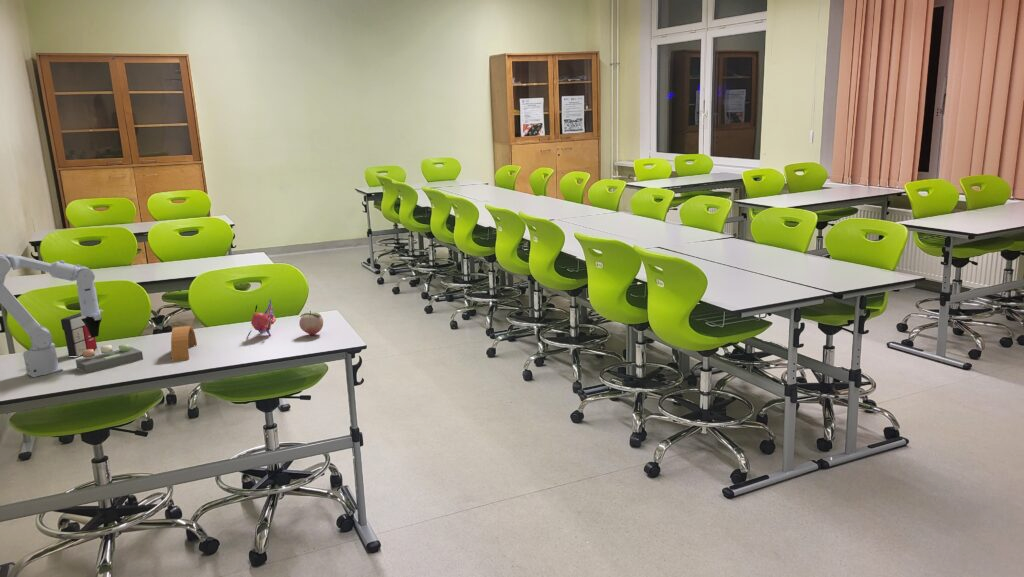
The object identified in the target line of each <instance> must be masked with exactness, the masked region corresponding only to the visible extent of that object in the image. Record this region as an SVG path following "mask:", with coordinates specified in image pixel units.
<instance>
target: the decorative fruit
mask: <svg viewBox="0 0 1024 577" xmlns="http://www.w3.org/2000/svg"><path fill="white" fill-rule="evenodd" d="M299 317H300V319H299V327H300V329H301V330H302V331H303V332H305V333H306V334H308V335H311V336H315V335H316V334H317V333H320V332H321V330H322V329H323V326H324V319H323V316H322V314H320V312H319V313H318V312H312V311H311V310H309V312H304V313H302V314H301V315H300V316H299Z"/></svg>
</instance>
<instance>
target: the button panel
mask: <svg viewBox="0 0 1024 577" xmlns="http://www.w3.org/2000/svg"><path fill="white" fill-rule="evenodd" d="M142 360H144V355H143V351H142V350H139V349H137V348H134V347H132V346H130V350H129V351H126V352H120V351H119V349H116V350H113V351H112V352H109V353H101V354H96V355H94V356H92V357H87V358H84V357H82V358H79V359H75V364H76V368H77V369H78V368H79V369H78V370H80V371H81V370H82V371H81V372H84V373H85V374H90V373H94V372H98V371H101V370H105V369H109V368H113V367H117V366H121V365H126V364H129V363H133V362H137V361H142Z"/></svg>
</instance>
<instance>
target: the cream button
mask: <svg viewBox="0 0 1024 577" xmlns="http://www.w3.org/2000/svg"><path fill="white" fill-rule="evenodd" d="M112 351H114V350H113V346H112V345H111V344H105V345H102V346H100V352H101V354H103V353H109V352H112Z"/></svg>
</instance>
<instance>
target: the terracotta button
mask: <svg viewBox="0 0 1024 577" xmlns="http://www.w3.org/2000/svg"><path fill="white" fill-rule="evenodd" d="M82 353H83V355H82V358H87V357H92V356H95V354H96V353H95V350H94V349H88V350H84V351H82Z"/></svg>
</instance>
